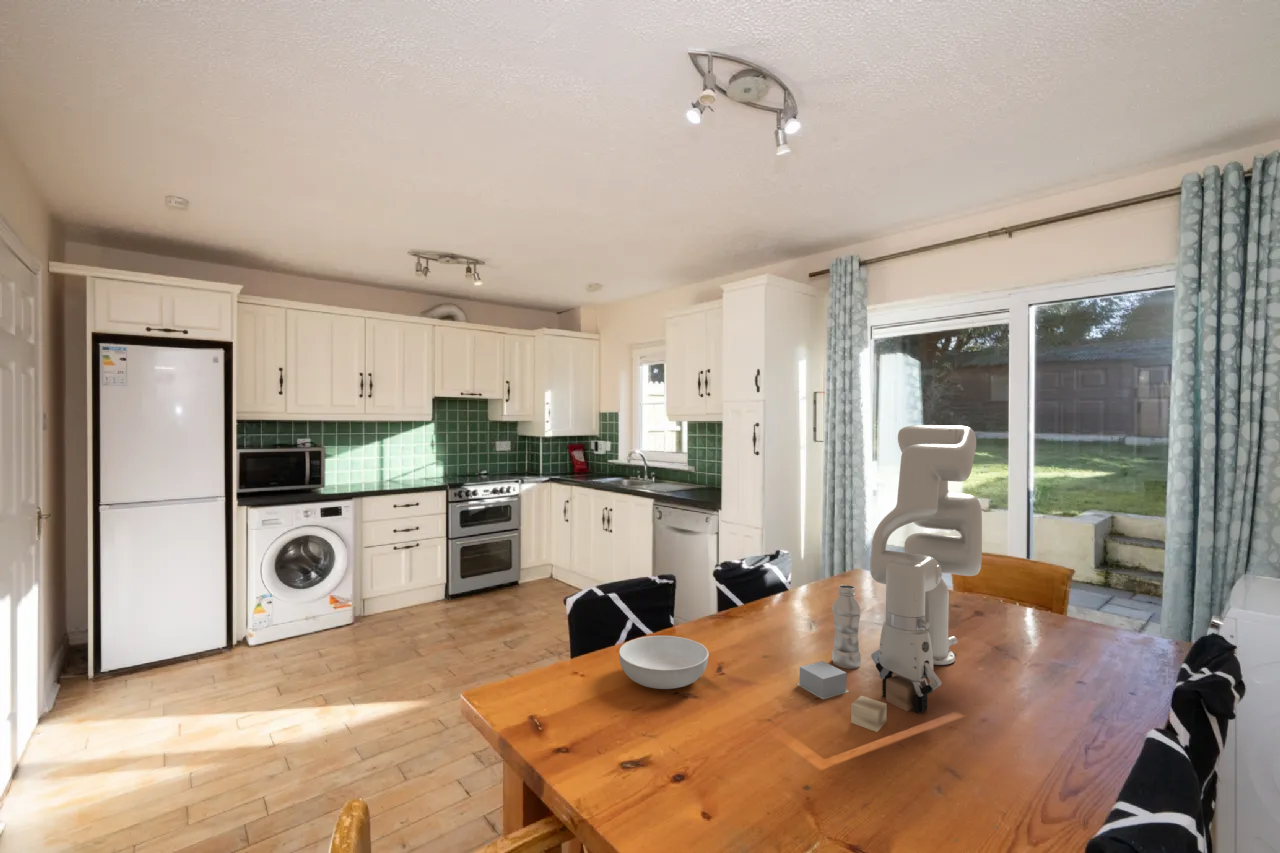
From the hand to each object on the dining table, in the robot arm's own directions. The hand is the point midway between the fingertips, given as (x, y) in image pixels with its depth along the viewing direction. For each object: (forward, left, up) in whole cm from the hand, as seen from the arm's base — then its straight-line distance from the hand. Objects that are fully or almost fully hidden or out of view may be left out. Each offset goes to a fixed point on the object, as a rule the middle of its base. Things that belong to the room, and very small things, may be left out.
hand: (904, 704), depth 121 cm
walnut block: (0, 0, -1) cm, 1 cm away
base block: (+10, -13, 0) cm, 16 cm away
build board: (+10, -13, -1) cm, 16 cm away
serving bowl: (+38, -35, -1) cm, 52 cm away
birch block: (+13, +2, -1) cm, 13 cm away
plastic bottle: (-5, -20, -1) cm, 21 cm away
